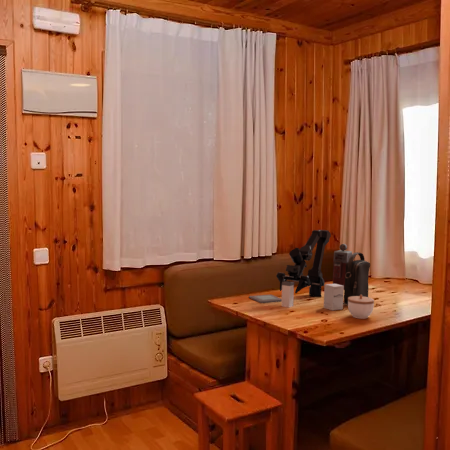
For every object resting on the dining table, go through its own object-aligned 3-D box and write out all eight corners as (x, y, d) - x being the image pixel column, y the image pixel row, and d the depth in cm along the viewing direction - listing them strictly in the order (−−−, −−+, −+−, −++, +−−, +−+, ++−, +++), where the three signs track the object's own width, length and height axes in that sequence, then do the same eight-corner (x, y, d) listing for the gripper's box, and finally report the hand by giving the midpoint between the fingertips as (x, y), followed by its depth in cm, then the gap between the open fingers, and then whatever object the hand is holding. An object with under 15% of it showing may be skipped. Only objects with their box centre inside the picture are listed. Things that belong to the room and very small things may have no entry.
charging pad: (271, 296, 302) (271, 294, 302) (283, 301, 289) (283, 299, 289) (249, 297, 296) (249, 295, 296) (260, 303, 283) (260, 301, 283)
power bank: (285, 304, 282) (286, 280, 280) (293, 305, 279) (294, 281, 278) (281, 306, 278) (282, 282, 277) (289, 307, 275) (289, 283, 274)
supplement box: (332, 310, 270) (333, 286, 269) (323, 307, 277) (324, 284, 276) (343, 309, 274) (344, 285, 273) (334, 306, 280) (335, 283, 279)
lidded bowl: (374, 321, 251) (375, 298, 250) (347, 319, 254) (348, 296, 253) (372, 314, 264) (373, 293, 263) (346, 313, 266) (347, 291, 265)
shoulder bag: (357, 297, 303) (359, 249, 301) (372, 300, 297) (374, 251, 295) (339, 304, 285) (342, 253, 283) (355, 307, 279) (357, 255, 277)
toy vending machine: (331, 288, 328) (332, 244, 326) (337, 285, 337) (339, 242, 335) (344, 290, 323) (346, 245, 321) (350, 287, 333) (352, 243, 330)
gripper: (278, 257, 286) (267, 280, 278) (309, 261, 275) (298, 284, 267) (284, 270, 293) (274, 292, 285) (315, 274, 282) (305, 297, 274)
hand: (287, 291), depth 278 cm, fingers open, 9 cm apart
